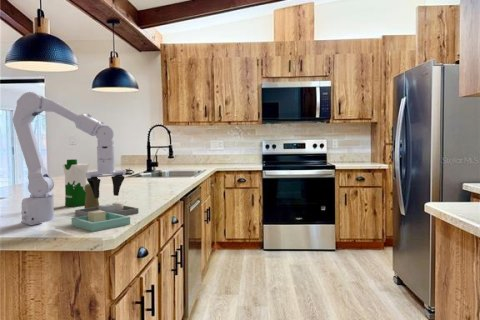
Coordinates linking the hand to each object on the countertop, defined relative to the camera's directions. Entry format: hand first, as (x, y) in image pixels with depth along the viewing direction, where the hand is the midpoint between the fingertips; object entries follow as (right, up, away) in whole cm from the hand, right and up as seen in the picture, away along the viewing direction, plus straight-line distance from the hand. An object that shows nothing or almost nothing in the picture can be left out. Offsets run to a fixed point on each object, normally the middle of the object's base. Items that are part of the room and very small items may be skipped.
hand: (106, 196), depth 138 cm
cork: (-11, -7, +14) cm, 19 cm away
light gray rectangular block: (0, -7, 0) cm, 7 cm away
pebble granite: (+1, -7, +8) cm, 11 cm away
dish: (+3, -9, -13) cm, 16 cm away
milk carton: (-22, -7, +28) cm, 36 cm away
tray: (-1, -8, +5) cm, 9 cm away
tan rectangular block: (+1, -8, -11) cm, 14 cm away
